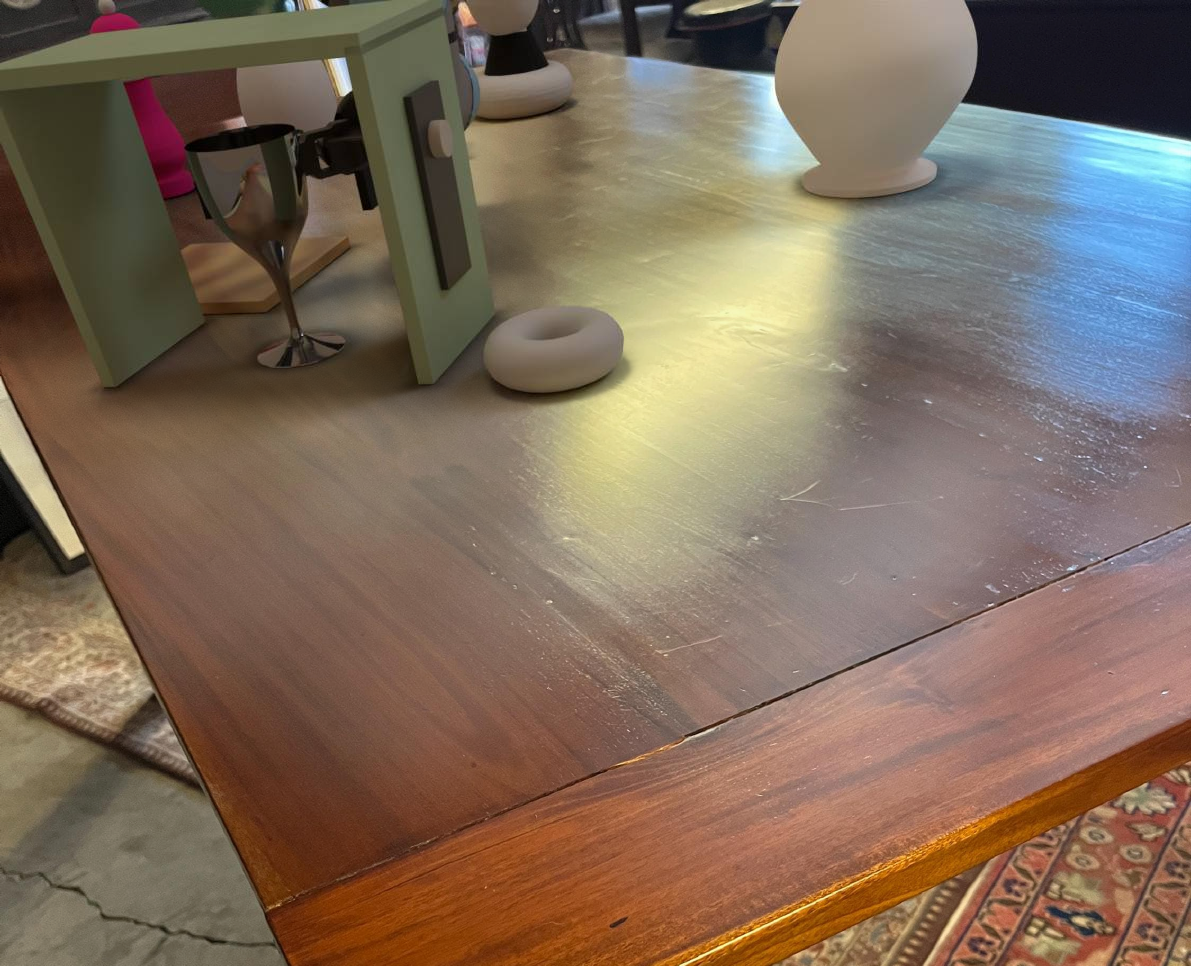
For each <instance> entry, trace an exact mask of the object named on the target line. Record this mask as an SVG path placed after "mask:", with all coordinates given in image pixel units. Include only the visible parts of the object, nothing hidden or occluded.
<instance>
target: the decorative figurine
mask: <svg viewBox="0 0 1191 966" xmlns="http://www.w3.org/2000/svg"><path fill="white" fill-rule="evenodd" d="M466 6H467V8H468V11H469V13H470V15H471V17H472V18H473V20H474V22H475V23H476V24H477V26H479V27H480V28H481V29H482V30H483V31H484V32H486V33H488V34H489V35H491V36H490V41H489V45H488V52H487V57H486V62H485V66H484V69H482V70H479V71H477V72H475V73H476V76H477V78H478V81H479V86H480V105H479V109H478V112H477V114H476V116H478V117H479V118H484V119H488V120H510V119H511V120H512V119H518V118H519V119H520V118H527V117H532V116H536V115H541V114H544V113H548V112H551V111H553V110H556V109H557V108H559V107H562V106H563V105H564V104H566V102H567V101H568V100H569V99H570V97H571V95H572V93H573V88H574V80H573V76H572V73H571V71H570V70H569V69H568V67H567V66H565V65H564V64H562V63H560V62H559V61H555V60H549V59H547V57H546V55H545V54H544V51H543V50H542V48H541V45H540V43H539V41H538V40H537V37H536V36H535V34H534V32H533V29H532V28H531V26H530V24H531V23H532V21H533V19H534V18H535V15H536V13H537V10H538V6H539V0H466Z"/></svg>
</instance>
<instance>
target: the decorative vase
mask: <svg viewBox="0 0 1191 966" xmlns="http://www.w3.org/2000/svg"><path fill="white" fill-rule="evenodd" d="M977 63H978V39H977V31H976V26H975V23H974V20H973V17H972V14H971V12H970V10H969V7H968V6H967V4H966V1H965V0H802V1H801V2H800V4H799V6H798V7H797V9H796V11H795V12H794V14H793V16H792V18H791V20H790V22H789V24H788V26H787V27H786V30H785V32H784V34H783V37H782V39H781V42H780V44H779V47H778V52H777V55H776V60H775V66H774V67H775V68H774V91H775V97H776V100H777V102H778V105H779V107H780V109H781V111H782V113H783V115H784V116H785V118H786V120H787V122H788V123H789V124H790V126H791V128H792V129H793V130H794V132H795V133H796V135H797V136H798V137H799V139H800V140H801V142H803V144H804V145H805V147H806V148H807V149H808V150H809V152H810V153H811V154H812V156H813V157H814V159H815V160H816V161H817V162H818V163H819V164H818V165H816V166H813V167H811V168H810V169H808V170H806V172H804V173H803V175H802V177H801V179H802V181H801V182H802V184H801V185H802V188H803V189H804V190H805V191H807V192H809V193H812V194H815V195H818V196H823V197H830V198H843V199H844V198H845V199H847V198H849V199H854V198H855V199H857V198H859V199H860V198H874V197H875V198H876V197H882V196H883V197H884V196H891V195H895V194H900V193H905V192H908V191H912V190H915V189H918V188H921V187H924V186H925V185H928V184H929V183H932V182H933V180H934V179H936V177H937V173H938V172H937V171H938V166H937V164H936V163H935V162H934V161H932V160H931V159H928V158H924V157H921V155H922V154H923V153H924V152H925V150H926V149H927V148H928V147H929V146H930V144H931V143H932V142H933V140H935V138H936V137H937V135H938V134H939V133H940V132H941V130H942V129H943V128H944V126H945V125H946V123H947V122H948V121H949V120H950V118H951V117H952V116H953V114H954V113H955V111H956V110H957V108H958V107H959V105H960V104H961V102H962V101H963V100H964V98H965V96H966V94H967V93H968V91H969V89H970V87H971V85H972V84H973V83H972V82H973V80H974V77H975V73H976V69H977Z"/></svg>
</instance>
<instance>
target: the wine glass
mask: <svg viewBox="0 0 1191 966" xmlns="http://www.w3.org/2000/svg"><path fill="white" fill-rule="evenodd" d="M184 150H185V153H186V157H187V159H186V161H187V163H188V166H189V169H190V173H191V176H192V179H193V181H195V183H196V186H197V188H198V191H199V193H200V195H201V197H202V199H203V201H204V204H205V206H206V208H207V210H208V211H209V213H210V215H211V217H212V219H211V220H213V222H214V224H215V225H216V227H217V228H218V230H219V232H220V233H221V234H222V235H224V237H225V238H227V240H228V241H229V242H233V243H234V244H235V245H236V246H238V247H239V248H240V249H242V250H243V251H244V252H246V253H247V254H248V255H249V256H251V257H252V258H253V259H255V260H256V261H257V262H258V263H259V264H260V265H261V266H262V267H263V268H264V269H265V270H266V272H267V273H268V274H269V276H270V277H271V279H272V281H273V283H274V285H275V287H276V289H277V292H278V294H279V296H280V299H281V301H280V302H281V303H282V306H283V309H284V312H285V315H286V318H287V322H288V325H289V330H290V336H289V337H288V338H287V337H286V338H284V339H281V340H279V341H276V342H274V343H272V344H270V345H268V346H266V347H264V349H262V350H261V351H260V352H259V354H258V355H257V362H258V364H260V365H261V366H263V367H267V368H272V369H273V368H274V369H288V368H290V369H291V368H296V367H302V366H307V365H312V364H315V363H318V362H321V361H324V360H326V359H329V358H331V357H333V356H334V355H336V354H338V353H340V351H342V350H343V349H344V348H345V346H346V344H347V342H346V339H345V338H344V337H343V336H342V335H339V334H337V333H330V332H315V333H314V332H313V333H305V332H304V331H303V329H302V327H301V325H300V321H299V319H298V314H297V311H296V307H295V302H294V298H293V292H292V291H291V285H290V276H289V272H290V263H291V259H292V255H293V252H294V249H295V247H296V245H297V242H298V240H299V239H301V235H302V233H303V230H304V228H305V225H306V223H307V219H308V216H309V205H310V203H309V187H308V179H307V176H306V171H305V166H304V161H303V156H302V152H301V148H300V144H299V140H298V136H297V133H296V129H295V127H294V126H293V125H290V124H262V125H253V126H247V125H246V126H242V127H241V126H240V127H235V128H231V129H226V130H222V131H219V132H214V133H211V134H208V135H205V136H202V137H199V138H196V139H193V140H192V141H190V142H189V143H187V144H185V147H184Z"/></svg>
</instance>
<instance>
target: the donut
mask: <svg viewBox="0 0 1191 966" xmlns="http://www.w3.org/2000/svg"><path fill="white" fill-rule="evenodd" d="M624 335H625V334H624V332H623V329H622V328H621V326H620V324H619V323H618V322H617V321H616V319H615V318H614V317H613V316H611V315H610V314H609V313H608V312H605V311H603V310H601V309H597V308H593V307H591V306H583V305H557V306H555V305H554V306H548V307H547V306H546V307H542V308H537V309H533V310H529V311H526V312H522V313H519V314H516V315H514V316H513V317H511V318H508V319H506V320H505V321H503V322H501V323H500V324H498V326H496V327H495V328H494V329H493V330H492V331H491V332H490V334H489V335H488V336H487V339H486V342H485V345H484V349H483V352H482V355H483V362H484V365H485V367H486V369H487V371H488V372H489V375H490V376H491V377H492V378H493V380H495V381H496V382H497V383H499V384H501V385H503V386H505V387H506V388H508V389H510V390H515V391H520V392H524V393H538V394H541V393H542V394H545V393H546V394H547V393H557V392H564V391H568V390H569V391H570V390H574V389H577V388H581V387H583V386H586V385H589V384H591V383H594V382H596V381H599V380H600V379H601V378H603V377H604V376H606V375H608V374H609V373H610V372H611V371H612V370H613V369H614V368H615V367H616V365H618V363H619V362H620V361H621V359H622V356H623V353H624V344H625V336H624Z"/></svg>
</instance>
